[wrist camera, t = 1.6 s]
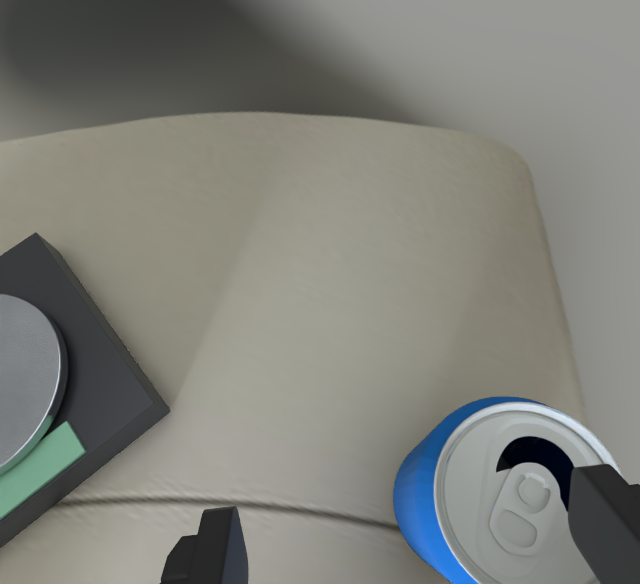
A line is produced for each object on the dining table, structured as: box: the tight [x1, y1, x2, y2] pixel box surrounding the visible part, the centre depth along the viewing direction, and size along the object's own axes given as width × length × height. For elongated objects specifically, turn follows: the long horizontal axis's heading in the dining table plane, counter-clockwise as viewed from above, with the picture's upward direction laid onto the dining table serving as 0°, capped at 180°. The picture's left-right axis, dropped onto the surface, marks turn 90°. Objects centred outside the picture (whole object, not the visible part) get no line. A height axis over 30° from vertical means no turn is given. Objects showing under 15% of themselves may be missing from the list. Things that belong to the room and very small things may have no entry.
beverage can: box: [393, 397, 625, 584], centre depth 20 cm, size 6×6×12 cm
